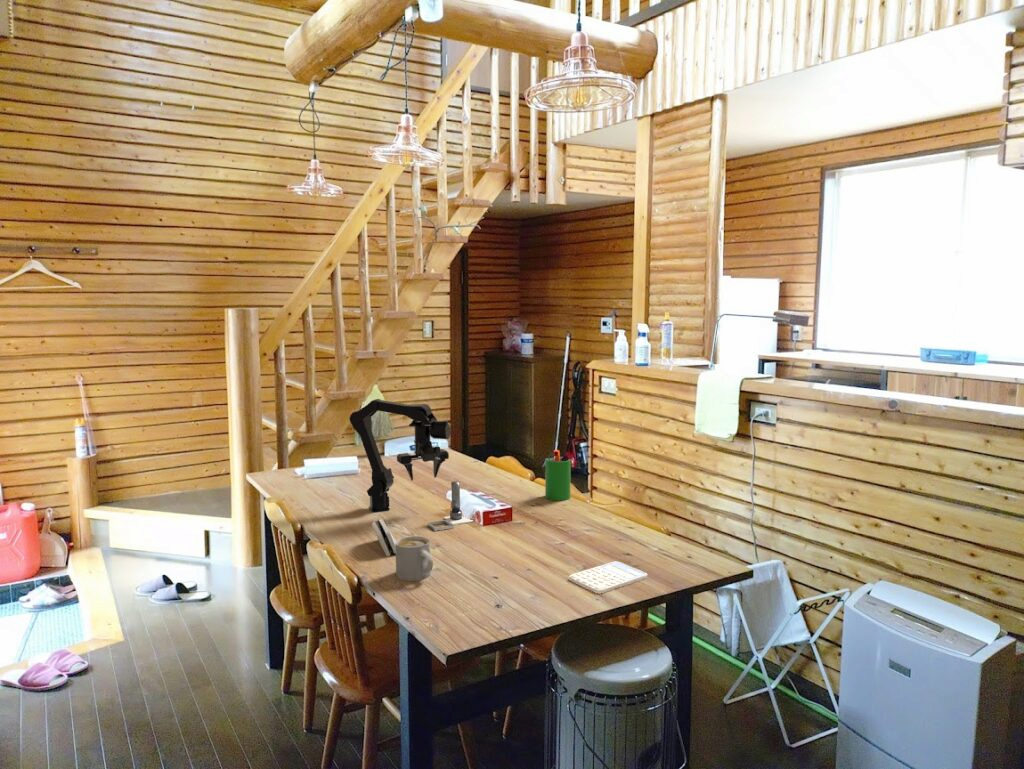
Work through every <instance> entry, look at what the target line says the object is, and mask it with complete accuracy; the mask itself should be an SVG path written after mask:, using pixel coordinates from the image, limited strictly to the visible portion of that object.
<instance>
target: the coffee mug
mask: <svg viewBox="0 0 1024 769" xmlns="http://www.w3.org/2000/svg"><path fill="white" fill-rule="evenodd" d="M430 540H431V539H429V538H428V537H425V536H422V535H421V536H420V535H409V536H405V537H404V536H403V537H400V538H398V539H397V540H395V541H396V553H395V575H396V578H397V579H398V580H401V581H405V582H417V581H421V580H425V579H427V578H428V577H430V575H431V571H432V570H433V567H434V560H433V559H434V558H433V556H432V554H431V545H430V544H431V542H430Z"/></svg>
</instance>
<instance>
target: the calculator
mask: <svg viewBox="0 0 1024 769" xmlns="http://www.w3.org/2000/svg"><path fill="white" fill-rule="evenodd" d="M647 578H648V573H647V572H645V571H643V570H640V569H638V568H635V567H633V566H631V565H628V564H626V563H624V562H621V561H615V560H614V561H611V562H608V563H605V564H602V565H598V566H595V567H591V568H588V569H586V570H582V571H580V572H579V571H578V572H576V573H573V574H570V575H568V580H569V581H570V582H572V583H574V584H577V586H580V587H582V588H584V589H586V590H588V591H590V590H591V591H590V592H592V591H593V592H592V593H594V592H595V593H594V594H597V593H598V595H601V593H602V594H604V592H605V593H607V591H608V592H610V591H609V590H611V591H614V590H616V589H615V588H617V589H619V588H618V587H620V588H622V586H623V587H626V586H628V585H631V584H634V583H637V582H639V581H642V580H646V579H647ZM613 589H614V590H613Z"/></svg>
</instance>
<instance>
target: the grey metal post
mask: <svg viewBox="0 0 1024 769" xmlns="http://www.w3.org/2000/svg"><path fill="white" fill-rule="evenodd" d="M450 483H451V484H450V485H451V510H450V511H449V516H450V519H451V520H460V519H462V514H463V511H462V510H461V490H460V489H461V488H460V486H461V484H460V483H461V481H459V480H454V481H451V482H450Z"/></svg>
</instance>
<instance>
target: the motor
mask: <svg viewBox="0 0 1024 769" xmlns="http://www.w3.org/2000/svg"><path fill="white" fill-rule="evenodd" d="M560 452H561V451H560V450H559V449H554V450H553V457H554V460H551V459H550V457H547V458H545V459H544V460H545V475H544V476H545V480H544V481H545V486H544V488H545V489H544V490H545V491H544V492H545V499H547V500H551V501H566V500H570V499H571V481H572V480H571V466H572V465H571V463H572V462H571V460H572V459H571V458H569V459H568V460H566V461H565V460H561V453H560Z"/></svg>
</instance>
